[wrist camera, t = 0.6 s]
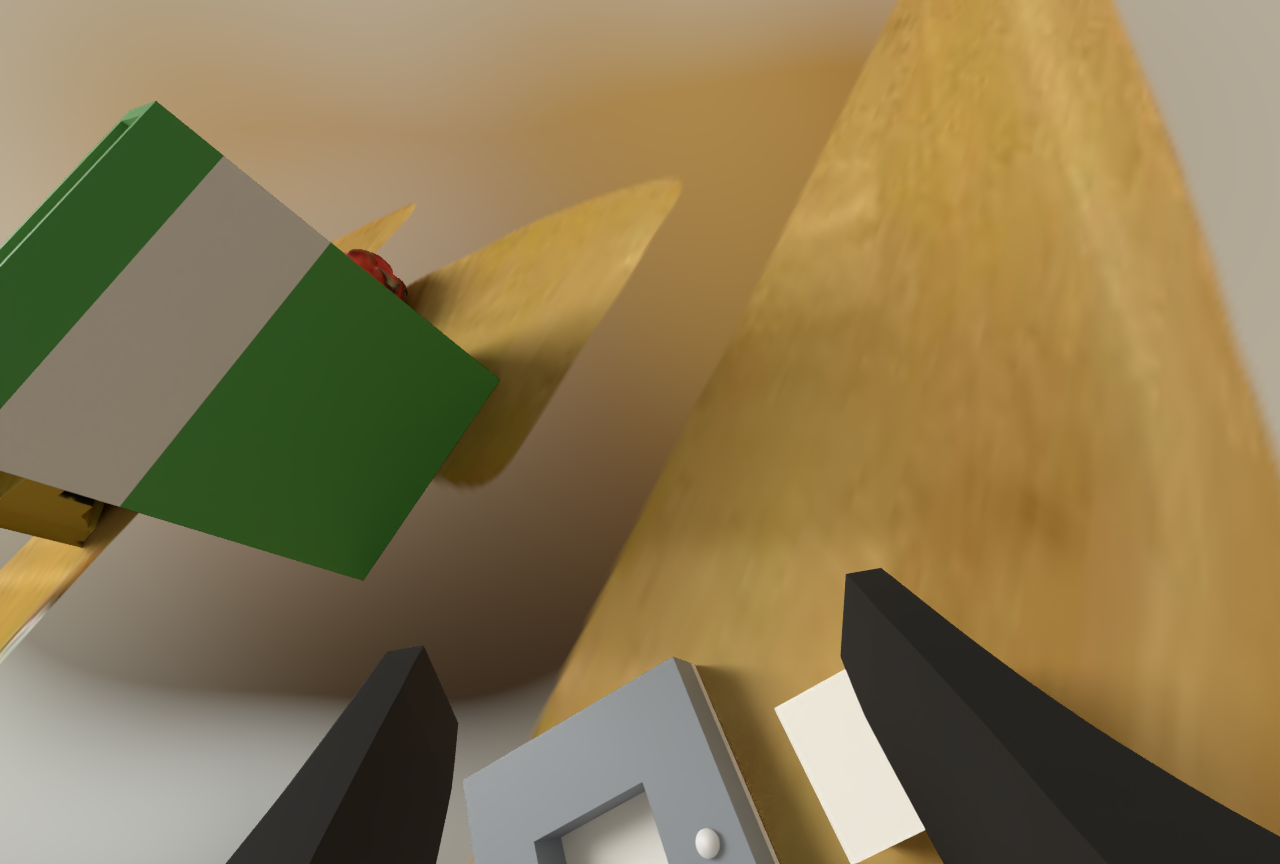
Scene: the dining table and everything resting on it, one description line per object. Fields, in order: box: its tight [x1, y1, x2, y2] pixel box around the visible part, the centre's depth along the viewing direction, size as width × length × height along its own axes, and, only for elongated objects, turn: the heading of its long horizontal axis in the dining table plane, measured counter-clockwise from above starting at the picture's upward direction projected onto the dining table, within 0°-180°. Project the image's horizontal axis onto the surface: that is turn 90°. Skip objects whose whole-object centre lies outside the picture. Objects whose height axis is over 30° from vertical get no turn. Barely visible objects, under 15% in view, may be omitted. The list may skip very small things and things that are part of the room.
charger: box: [774, 669, 925, 864], centre depth 19 cm, size 4×4×6 cm
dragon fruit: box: [344, 249, 408, 301], centre depth 55 cm, size 8×8×12 cm
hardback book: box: [0, 101, 500, 581], centre depth 35 cm, size 18×7×24 cm, turn 146°
